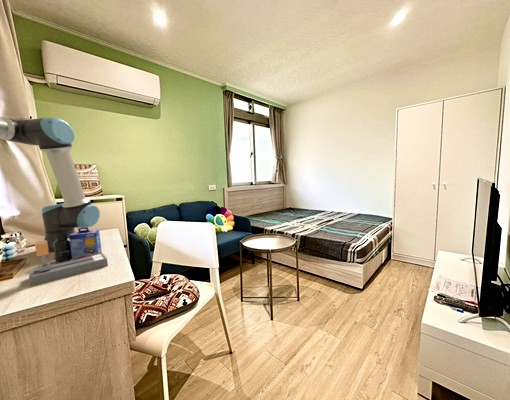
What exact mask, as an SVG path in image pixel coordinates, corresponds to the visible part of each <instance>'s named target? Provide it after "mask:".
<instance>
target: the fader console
mask: <svg viewBox="0 0 510 400" xmlns="http://www.w3.org/2000/svg"><path fill="white" fill-rule="evenodd" d="M108 263H109V262H108V258H107V257H106V256H105V254H104V253H103V252H102V254H98V255H94V256H89V257H85V258H80V259H76V260H70V261H66V262H58V263H55V264H51V269H50V270H45V271H41V272H39V267H38V268H32V269H30V270H29V276H28V281H29V287H31V286H32V287H33V286H37V285H40V284H44V283H47V282H51V281H55V280H58V279H63V278H65V277H66V278H67V277H70V276H75V275H77V274H81V273H85V272H89V271H93V270H97V269H100V268H104V267H107V266H108Z"/></svg>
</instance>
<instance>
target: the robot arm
mask: <svg viewBox="0 0 510 400" xmlns="http://www.w3.org/2000/svg"><path fill="white" fill-rule="evenodd" d="M74 139H75V131H74V129H73V128H72V126H71V125H70V124H69V123H68V122H66V121H65V120H64V119H62V118H58V117H48V116H47V117H41V118H31V119H30V118H29V119H13V118H9V117H1V118H0V140H2V141H7V142H12V143H13V142H14V143H19V144H24V145H28V146H29V145H30V146H38V147H39V150H40V151H41V152H43V153H45V154H46V157H47V159H48V162H49V165H50V168H51V170H52V173H53V176H54V178H55V181H56V183H57V187H58V189H59V191H60V194H61V197H62V199H63V203H57V204H51V205H46V206H43V207H42V209H41V215H42V220H43V221H42V222H43V226H44V233H45V236H44V239H43V241H44V240H47V243H48V250H49V252H54V246H53V243H54V241H56V240H57V239H56V236H55V235H56V234H59V233H66V232H69V233H70V234H72V233H74V232H76V231H75V229H76V228H77V229H78V228H86V227H88V228H92V227H93V226H95V225H96V224H97V223H98V222H99V219H100V217H101V212H100V208H98V206H96V205H94V204H92V202H91V199H89V198H87V197H86V195H85V192H84V190H83V187H82V186H83V185H82V183H81V181H80V178H79V175H78V171H77V169H76V165H75V163H74V159H73V158H72V155H71V150H72V149H73V146H72V143H73V142H74V141H75V140H74Z"/></svg>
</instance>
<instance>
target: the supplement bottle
mask: <svg viewBox="0 0 510 400" xmlns="http://www.w3.org/2000/svg"><path fill="white" fill-rule="evenodd" d="M69 235H70V233H69V232H66V233H59V234H56V235H55V236H56V239H57V240H56V241H54V243H53V246H54V251H53V253H54V262H56V263H63V262H67V261H72V254H71V246H70V239H69Z"/></svg>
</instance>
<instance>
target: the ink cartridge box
mask: <svg viewBox="0 0 510 400" xmlns="http://www.w3.org/2000/svg"><path fill="white" fill-rule="evenodd" d="M77 230H78V231H75V232H74V233H72V234H70V235H69V239H70V246H71V254H72V260H76V259H80V258H85V257H89V256H94V255H98V254H102V253H103V251H102V243H101V235H100V230H99V229H93V230H90V229H89V227H85V228H77ZM72 260H71V261H72Z"/></svg>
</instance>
